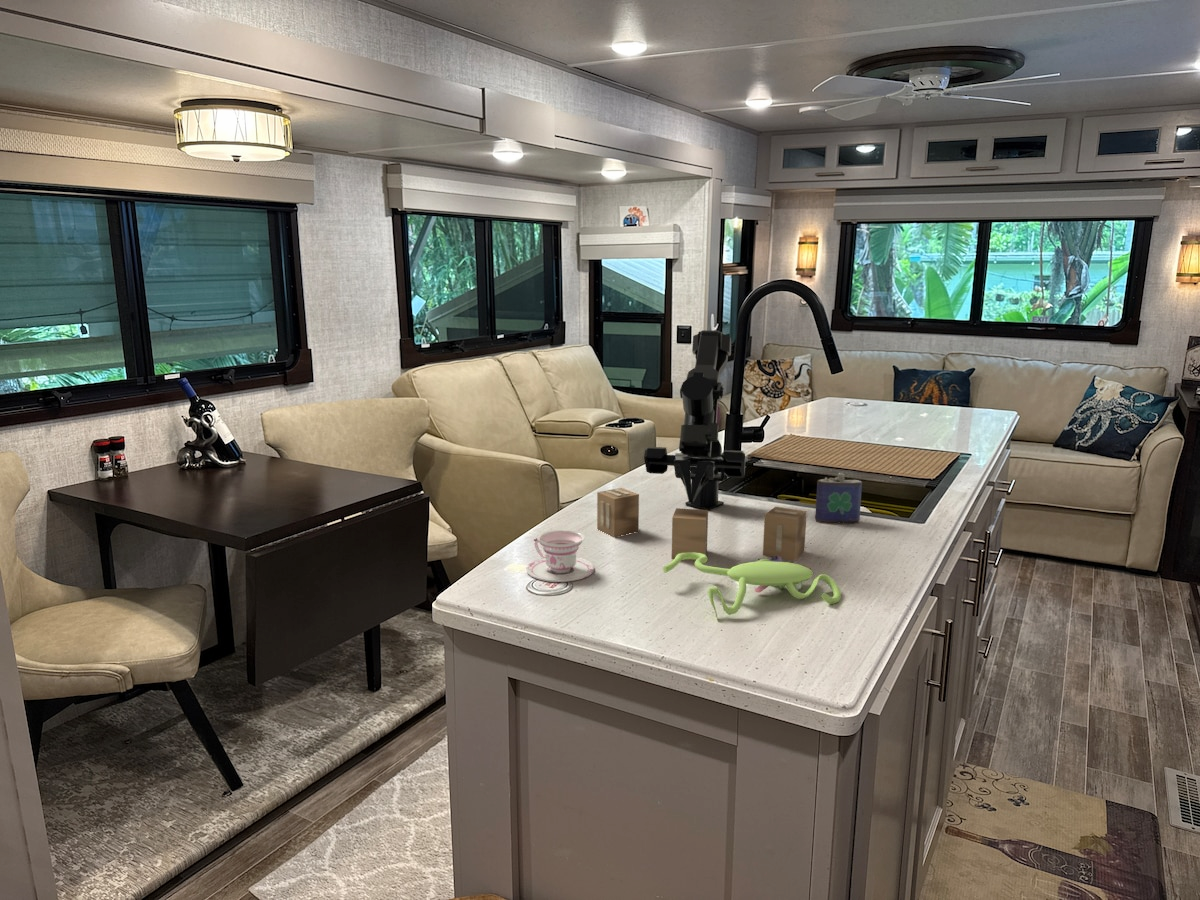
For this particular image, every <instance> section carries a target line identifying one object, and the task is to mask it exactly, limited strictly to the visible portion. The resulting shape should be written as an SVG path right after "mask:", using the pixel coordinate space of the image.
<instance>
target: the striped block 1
mask: <svg viewBox="0 0 1200 900" xmlns="http://www.w3.org/2000/svg"><path fill="white" fill-rule="evenodd" d="M596 495H597V497H596V500H597V501H596V507H597V509H596V511H597V513H596V516H597V519H596V522H597V523H596V530H597V529H598V530H597V531H599V530H600V531H599V532H601V531H602V532H601V533H603V532H604V533H603V534H605V533H606V535H607V534H608V535H607V536H609V535H610V537H612V538H614V537H615V538H619V537H618V536H620V537H622V536H621V535H624V536H627V535H626V534H629V533H633V534H635V533H634V532H638V533H639V527H640V526H639V521H640V520H639V519H640V516H639V515H640V514H639V513H640V512H639V511H640V505H639V504H640V495H639V493H637V492H634V491H631V490H628V489H625V488H623V487H619V488H612V489H608V490H602V491H597V494H596ZM629 535H630V534H629Z"/></svg>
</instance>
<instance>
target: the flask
mask: <svg viewBox="0 0 1200 900" xmlns="http://www.w3.org/2000/svg"><path fill="white" fill-rule="evenodd" d="M845 476H846V474H845V473H844V472H838V474H837V476H835V477H834V478H833V477H829V478H828V477H824V478H822V479H818V480H817V481H816V483H817V484H816V500H815V501H816V502H815V515H814V516H815V517H814V519H815V523H818V524H832V525H834V524H835V525H837V524H838V525H839V524H843V525H844V524H845V525H847V524H853V525H854V524H859V522H860V519H861V518H860V517H861V503H862V501H861V500H862V491H863V490H862V486H863V481H861V480H859V479H846V478H845Z"/></svg>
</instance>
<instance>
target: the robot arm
mask: <svg viewBox="0 0 1200 900" xmlns="http://www.w3.org/2000/svg"><path fill="white" fill-rule="evenodd" d="M691 352H692V354H693V356H695V366H694V368H692V369H691V370H689V371H688V372H687V376H686V379H685V380H684V381H683V382H682V384H681V387H680V389H679V395H680V399H682V406H683V411H684V420H683V424H682V425H680V436H679V445H678V451H679V452H675V454H668V451H667V447H666V446H665V447H664V446H663V447H662V446H661V447H660V446H647V448H646V449H645V450H644V456H643V460H644V465H645V471H646V473H649V474H656V475H663V474H665V473H666V472H667V471H668V468H669V467H671V466H672V467H673V469H674V475H675V478H676V479H680V480H681V482H682V484H683V486H684V488H685V492H686V495H687V500H688V501H686V502H685V503H684V505H685V506H689V507H694V508H697V509H701V510H708V511H710V510H713V509H715V508H718V507H719V506H723V505H724V503H725V502H724V501H721V500H719V489H720V488H719V483H720V482H724V481H727V480H728V478H733V479H735V478H736V479H737V478H738V479H743V478H745V477H746V475H745V474H746V453H744V451H743V450H733V449H731V450H727V449H723V447H722V444H721V442H720V440H719V422H718V408H719V401H722V399H723V397H724V396H725V388H724V386H723V384H722V383H723V382H721V381H720V378H721V377H720V375H721V374H723V373H722V372H723V371H724V370H725V368H726V367H727V366H728V358H729V357H730V356H731V354H732V337H731V336H730V335H728V334H724V333H723V332H722V331H719V330H706V329H705V330H701V331H698V333H697V334H694V335H693V336H692V350H691ZM668 466H669V467H668Z"/></svg>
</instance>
